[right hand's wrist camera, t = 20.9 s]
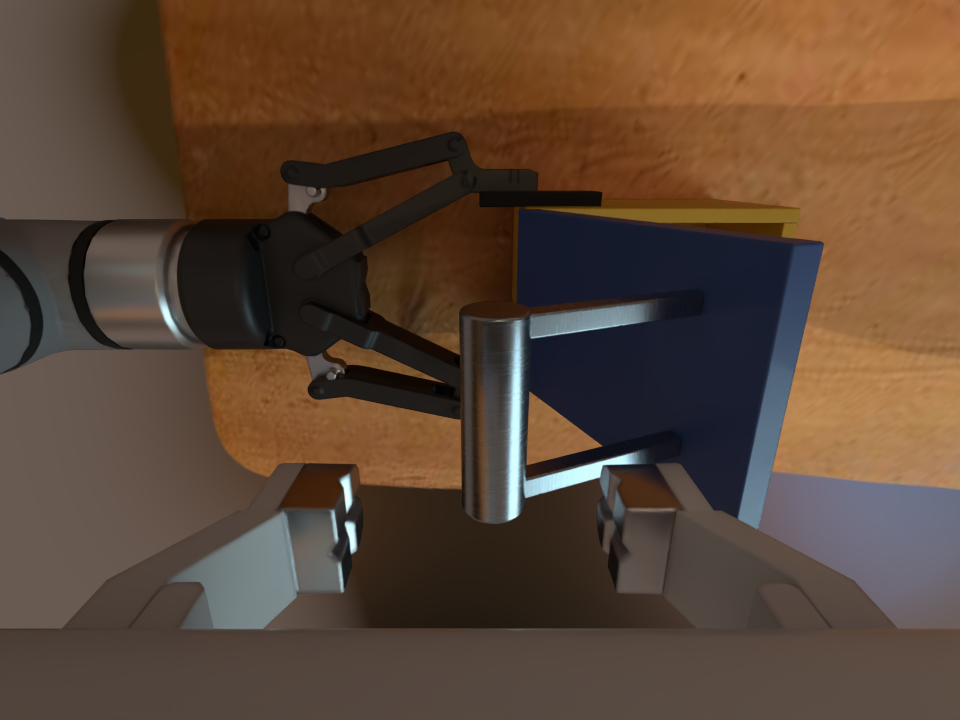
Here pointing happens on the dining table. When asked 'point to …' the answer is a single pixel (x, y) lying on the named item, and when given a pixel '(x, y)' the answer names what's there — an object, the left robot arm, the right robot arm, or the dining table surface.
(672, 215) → the chest
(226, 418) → the dining table surface
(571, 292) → the lid
